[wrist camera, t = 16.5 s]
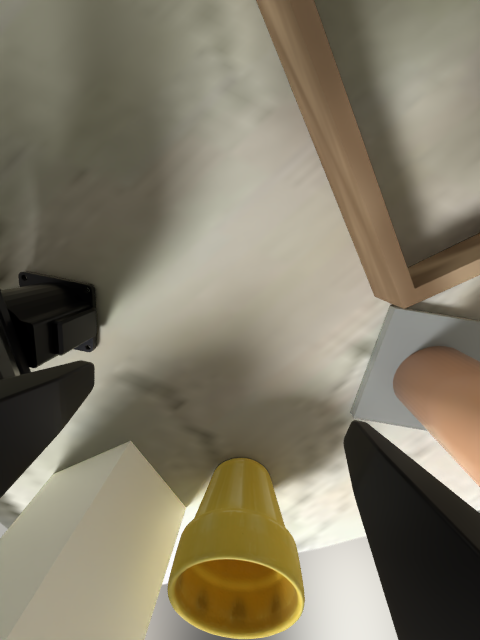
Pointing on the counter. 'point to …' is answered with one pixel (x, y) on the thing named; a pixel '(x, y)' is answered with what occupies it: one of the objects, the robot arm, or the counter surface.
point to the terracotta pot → (445, 400)
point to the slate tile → (395, 346)
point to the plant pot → (238, 559)
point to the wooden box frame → (355, 163)
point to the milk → (89, 552)
